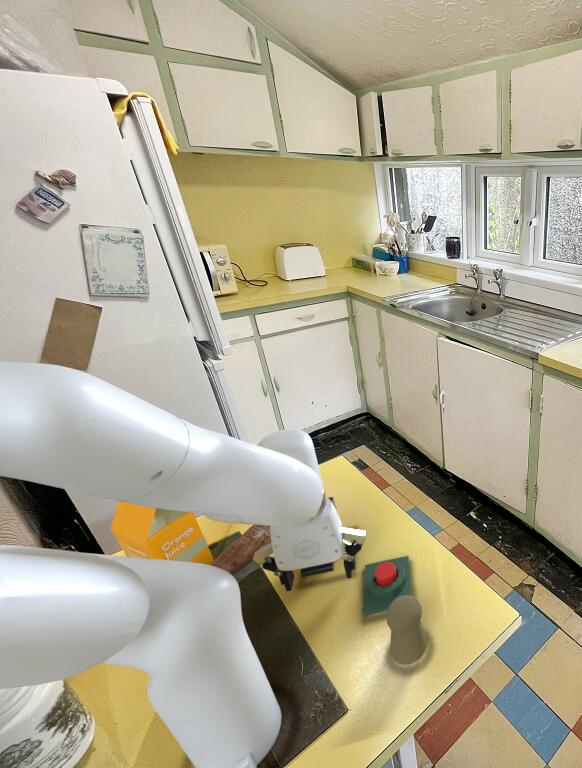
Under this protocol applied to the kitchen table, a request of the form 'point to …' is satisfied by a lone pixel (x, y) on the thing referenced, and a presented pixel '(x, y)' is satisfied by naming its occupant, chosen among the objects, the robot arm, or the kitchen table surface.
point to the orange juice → (159, 534)
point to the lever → (317, 569)
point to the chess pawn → (406, 630)
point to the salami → (243, 549)
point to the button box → (383, 596)
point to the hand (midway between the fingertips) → (320, 577)
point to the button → (385, 573)
